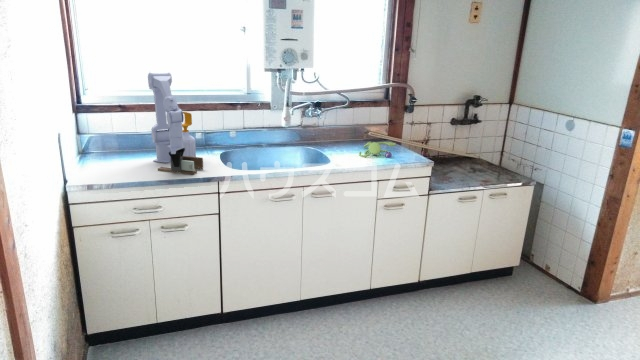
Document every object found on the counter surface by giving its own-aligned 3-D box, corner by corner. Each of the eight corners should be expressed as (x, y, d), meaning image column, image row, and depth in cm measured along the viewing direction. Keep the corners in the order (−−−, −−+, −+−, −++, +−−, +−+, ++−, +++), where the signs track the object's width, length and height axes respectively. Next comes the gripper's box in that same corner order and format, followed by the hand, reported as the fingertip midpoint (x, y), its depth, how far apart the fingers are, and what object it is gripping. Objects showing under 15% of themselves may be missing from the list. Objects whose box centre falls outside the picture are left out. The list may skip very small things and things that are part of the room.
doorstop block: (183, 168, 216) (182, 156, 214) (180, 171, 212) (180, 158, 210) (173, 168, 216) (172, 156, 214) (171, 170, 211) (170, 158, 210)
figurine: (395, 149, 273) (396, 140, 271) (391, 160, 248) (392, 150, 246) (365, 147, 277) (365, 138, 275) (357, 157, 252) (358, 147, 250)
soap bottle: (174, 159, 234) (171, 111, 226) (185, 155, 242) (182, 109, 235) (188, 161, 231) (186, 113, 223) (199, 157, 239) (197, 110, 231)
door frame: (169, 165, 224) (169, 154, 223) (204, 168, 220) (203, 157, 218) (157, 170, 215) (157, 159, 213) (193, 174, 211) (193, 163, 209)
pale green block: (182, 169, 214) (182, 160, 212) (194, 170, 213) (194, 161, 211) (180, 170, 212) (180, 160, 211) (192, 171, 211) (192, 162, 209)
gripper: (171, 133, 216) (172, 161, 220) (163, 140, 202) (165, 169, 206) (186, 133, 216) (187, 161, 220) (179, 140, 202) (181, 169, 207)
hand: (177, 165), depth 213 cm, fingers closed on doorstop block, 4 cm apart
